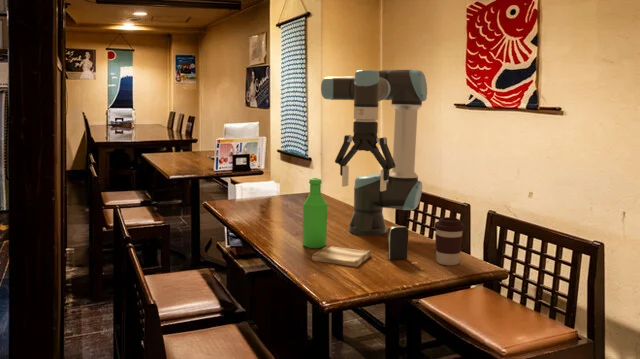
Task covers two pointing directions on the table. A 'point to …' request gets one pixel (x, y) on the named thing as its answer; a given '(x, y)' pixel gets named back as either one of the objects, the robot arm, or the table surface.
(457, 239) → the coffee cup
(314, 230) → the bottle
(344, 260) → the board
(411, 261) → the table surface
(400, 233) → the battery charger
